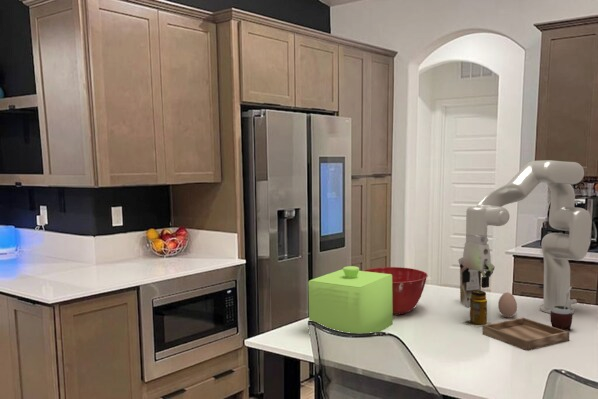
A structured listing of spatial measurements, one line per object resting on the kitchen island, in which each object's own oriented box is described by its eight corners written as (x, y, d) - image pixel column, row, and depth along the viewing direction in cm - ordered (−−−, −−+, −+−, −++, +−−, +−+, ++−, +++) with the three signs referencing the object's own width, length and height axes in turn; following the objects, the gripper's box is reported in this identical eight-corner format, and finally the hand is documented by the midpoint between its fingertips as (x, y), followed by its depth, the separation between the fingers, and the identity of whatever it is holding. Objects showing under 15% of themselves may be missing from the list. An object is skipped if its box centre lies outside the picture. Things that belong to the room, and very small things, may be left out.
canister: (344, 316, 208) (343, 259, 206) (392, 324, 196) (392, 264, 194) (309, 333, 187) (308, 270, 186) (361, 343, 175) (360, 276, 174)
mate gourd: (551, 331, 183) (551, 290, 182) (548, 325, 191) (549, 285, 190) (574, 333, 181) (575, 291, 180) (571, 326, 188) (571, 286, 187)
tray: (523, 325, 191) (523, 317, 190) (569, 340, 174) (569, 331, 173) (482, 333, 182) (482, 325, 182) (526, 350, 165) (527, 341, 165)
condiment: (491, 323, 194) (492, 292, 193) (477, 327, 189) (477, 295, 189) (475, 319, 200) (475, 288, 199) (461, 323, 196) (461, 291, 195)
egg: (511, 320, 197) (511, 295, 196) (494, 317, 202) (495, 292, 201) (520, 317, 201) (520, 292, 201) (503, 313, 206) (503, 289, 206)
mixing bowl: (414, 324, 195) (413, 283, 194) (346, 314, 210) (346, 276, 209) (436, 306, 219) (436, 270, 218) (374, 298, 234) (374, 264, 233)
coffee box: (481, 307, 216) (481, 269, 215) (466, 307, 217) (466, 269, 216) (474, 301, 226) (474, 265, 225) (459, 301, 226) (459, 265, 225)
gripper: (501, 241, 187) (500, 288, 188) (467, 236, 202) (466, 279, 203) (486, 243, 183) (485, 290, 184) (452, 237, 199) (451, 281, 200)
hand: (475, 284), depth 194 cm, fingers open, 9 cm apart
